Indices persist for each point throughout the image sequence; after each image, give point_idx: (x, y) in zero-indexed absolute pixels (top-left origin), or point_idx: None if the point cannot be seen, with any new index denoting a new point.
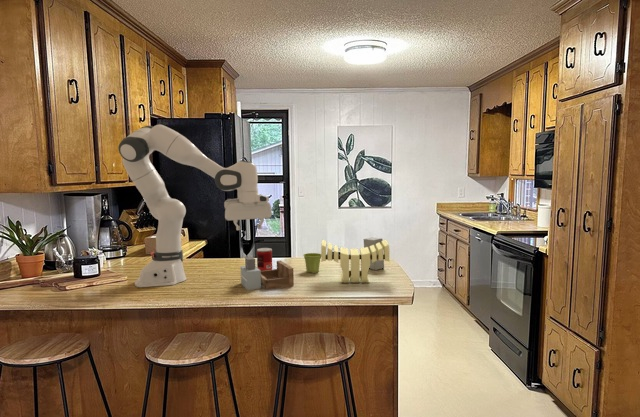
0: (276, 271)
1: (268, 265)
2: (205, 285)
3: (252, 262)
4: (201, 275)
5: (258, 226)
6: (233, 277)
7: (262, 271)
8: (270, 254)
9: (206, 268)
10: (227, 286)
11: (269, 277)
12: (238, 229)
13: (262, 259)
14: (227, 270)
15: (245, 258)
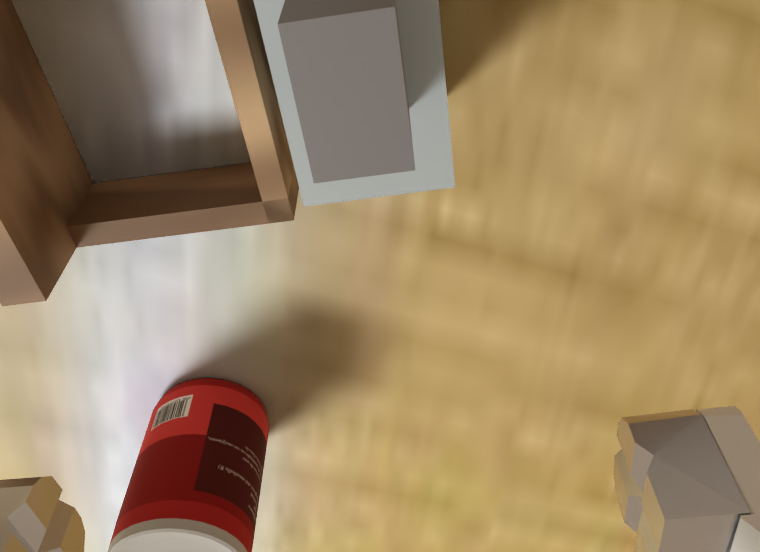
0: (82, 216)
1: (171, 416)
2: (753, 132)
3: (323, 2)
4: (684, 404)
5: (9, 529)
6: (472, 299)
7: (219, 205)
8: (128, 502)
9: (604, 533)
10: (581, 33)
11: (165, 180)
12: (697, 420)
13: (211, 460)
14: (482, 468)
15: (412, 146)
